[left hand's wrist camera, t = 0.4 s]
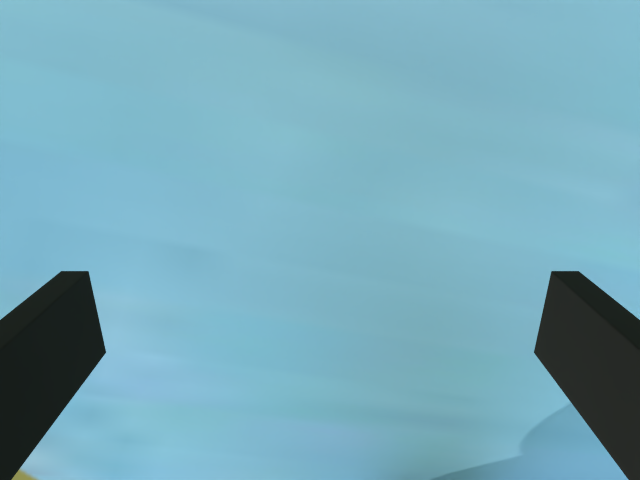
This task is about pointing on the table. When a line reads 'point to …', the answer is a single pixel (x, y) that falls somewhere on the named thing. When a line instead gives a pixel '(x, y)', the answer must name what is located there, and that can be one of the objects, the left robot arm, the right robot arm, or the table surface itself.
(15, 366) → the left robot arm
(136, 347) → the table surface
